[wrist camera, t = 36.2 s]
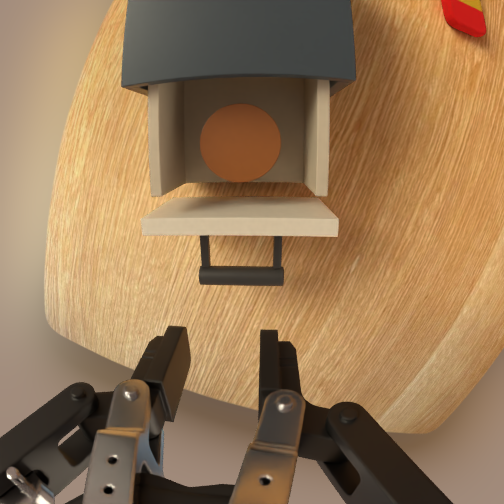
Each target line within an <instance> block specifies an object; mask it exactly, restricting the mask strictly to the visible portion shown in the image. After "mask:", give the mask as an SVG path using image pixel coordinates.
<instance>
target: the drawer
mask: <svg viewBox="0 0 504 504" xmlns="http://www.w3.org/2000/svg"><path fill="white" fill-rule="evenodd" d="M237 103H245V104H251V105H254V106H257V107H259V108H261V109H263V110H264V111H266V112H267V113H268V114H269V115H270V116H271V117H272V118H273V119H274V121H275V122H276V124H277V126H278V128H279V131H280V135H281V150H280V154H279V157H278V159H277V161H276V163H275V164H274V166H273V167H272V168H271V169H270V170H269V171H268V172H267V173H266V174H265V175H263V176H262V177H260V178H258V179H256V180H253V181H249V182H290V183H304V184H305V185H306V186H307V187H308V188H309V189H310V190H311V191H312V192H313V193H314V194H315V195H316V196H328V177H329V142H330V87H329V80H320V79H306V78H285V77H234V78H213V79H199V80H188V81H178V82H170V83H162V84H154V85H148V143H149V168H150V186H151V197H161V196H163V195H165V194H167V193H168V192H170V191H172V190H174V189H176V188H177V187H179V186H181V185H183V184H185V183H207V182H231V181H228V180H225V179H223V178H220V177H219V176H217V175H216V174H215V173H213V172H212V171H211V170H210V169H209V168H208V166H207V165H206V163H205V162H204V160H203V157H202V155H201V151H200V136H201V132H202V129H203V127H204V125H205V123H206V121H207V120H208V119H209V117H210V116H211V115H212V114H213V113H215V112H216V111H217V110H219V109H221V108H223V107H225V106H228V105H231V104H237ZM141 226H142V235H143V236H144V235H200V245H201V261H202V266H200V269H199V282H200V284H201V285H244V286H283V283H284V268H283V267H281V257H282V236H319V237H338V228H339V219H338V218H337V217H336V216H335V215H334V214H333V212H332V211H331V210H330V209H329V208H328V207H327V206H326V205H325V204H324V203H323V202H322V201H321V200H320V199H319V198H318V197H275V196H212V197H173V198H172V199H170V200H168V201H167V202H165V203H164V204H162V205H161V206H159V207H158V208H156V209H155V210H153V211H152V212H150V213H149V214H147V215H146V216H144V217H143V218H141ZM209 235H233V236H274V250H273V267H258V266H210V265H211V264H210V245H209Z"/></svg>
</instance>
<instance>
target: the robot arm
mask: <svg viewBox="0 0 504 504" xmlns="http://www.w3.org/2000/svg"><path fill="white" fill-rule="evenodd" d="M190 362H191V355H190V348H189V341H188V334H187V329H186V327H182V326H168V328H167V330H166V332H165V334H164V336H156V337H155V338H154V339H153V340H151V341H150V342H149V344H148V346H147V348H146V350H145V352H144V353H143V355H142V358H141V359H140V361H139V363H138V365H137V367H136V369H135V371H134V373H133V375H132V377H131V379H130V380H126V381H123V382H121V383H120V384H119V385H118V386H117V387H116V388H115V390H114V391H113V392H98V393H95V391H94V388H93V387H92V386H91V385H90V384H87V383H84V382H79V383H75V384H72V385H70V386H69V387H67V388H66V389H64V390H63V391H62V392H60V393H59V394H58V395H57V396H55V397H54V398H53V399H51V400H50V401H48V402H47V403H46V404H44V405H43V406H42V407H41V408H39V409H38V410H37V411H35V412H34V413H32V414H31V415H30V416H29V417H27V418H26V419H25V420H23V421H22V422H21V423H19V424H18V425H17V426H15V427H14V428H13V429H11V430H10V431H9V432H7V433H6V434H5V435H3V436H2V437H1V438H0V504H55V496H56V495H57V494H58V493H60V492H61V491H62V490H63V489H64V488H65V487H66V486H67V485H69V484H70V483H71V482H72V481H73V480H74V479H75V478H76V477H77V476H79V475H80V474H81V473H82V472H83V471H84V470H85V469H86V468H87V467H88V466H89V468H88V473H87V478H86V484H85V489H84V494H82V495H80V496H78V497H76V498H75V499H73V500H71V501H69V502H67V503H65V504H288V502H289V497H290V492H291V487H292V482H293V477H294V473H295V467H296V462H297V457H298V456H299V457H303V458H308V459H312V460H316V461H317V463H318V464H319V466H320V467H321V469H322V470H323V471H324V473H325V475H326V476H327V477H328V479H329V480H330V482H331V483H332V485H333V486H334V487H335V489H336V490H337V492H338V493H339V494H340V496H341V497H342V499H343V500H344V501H345V503H346V504H453V503H452V502H451V501H450V500H449V499H448V498H447V497H446V496H445V494H444V493H443V492H442V491H441V490H440V489H439V488H438V487H437V486H436V485H435V484H434V483H433V482H432V481H431V480H430V479H429V478H428V477H427V476H426V475H425V474H424V472H423V471H422V470H421V469H419V467H418V466H417V465H416V464H415V463H414V462H413V461H412V460H411V459H410V458H409V457H408V456H407V454H406V453H405V452H404V451H403V450H402V449H401V448H400V447H399V446H398V445H397V444H396V443H395V442H394V441H393V439H392V438H391V437H390V436H389V435H388V434H387V433H386V432H385V431H384V430H383V429H382V427H381V426H380V425H379V424H378V423H377V422H376V421H375V420H374V419H373V418H372V417H371V415H370V414H369V413H368V412H367V411H366V410H365V409H364V408H363V407H362V406H360V405H359V404H357V403H353V402H340V403H337V404H335V405H334V406H332V407H331V408H330V409H328V408H322V407H318V406H315V405H312V404H310V403H309V402H308V401H306V400H305V399H304V397H303V396H302V393H301V387H300V378H299V370H298V363H297V355H296V349H295V347H294V346H293V345H292V344H291V342H290V341H278V330H261V332H260V371H259V416H258V420H259V421H258V427H257V430H256V433H255V437H254V440H253V442H252V443H250V444H249V446H248V448H247V451H246V454H245V458H244V460H243V463H242V466H241V469H240V472H239V475H238V478H237V481H236V484H235V485H228V484H219V485H209V486H199V487H187V486H184V485H181V484H178V483H176V482H173V481H171V480H168V479H166V478H164V474H163V446H164V431H163V426H164V422H165V421H170V422H174V418H175V415H176V411H177V408H178V405H179V401H180V397H181V395H182V391H183V388H184V385H185V381H186V378H187V375H188V371H189V368H190ZM77 425H78V426H79V428H80V429H79V430H77V431H76V432H75V433H74V434H73V435H71V436H70V437H69V438H68V439H67V440H65V441H64V442H63V443H62V444H61V445H59V446H58V443H59V441H60V440H61V439H62V438H63V437H64V436H66V435H67V434H68V433H69V432H70V431H71V430H72V429H74V428H75V427H76V426H77Z"/></svg>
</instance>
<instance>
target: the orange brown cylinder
mask: <svg viewBox="0 0 504 504" xmlns="http://www.w3.org/2000/svg"><path fill="white" fill-rule="evenodd" d="M280 150H281V135H280V131H279V128H278V126H277V124H276V122H275V121H274V119H273V118H272V117H271V116H270V115H269V114H268V113H267V112H266V111H264V110H263V109H261V108H259V107H257V106H254V105H251V104H245V103H237V104H231V105H228V106H225V107H223V108H221V109H219V110H217V111H216V112H215V113H213V114H212V115H211V116H210V117H209V119H208V120H207V121H206V123H205V125H204V127H203V129H202V132H201V136H200V151H201V155H202V157H203V160H204V162H205V163H206V165H207V166H208V168H209V169H210V170H211V171H212V172H213V173H215V174H216V175H217V176H219V177H220V178H223V179H225V180H228V181H231V182H249V181H253V180H256V179H258V178H260V177H262V176H263V175H265V174H266V173H267V172H268V171H269V170H270V169H271V168H272V167H273V166H274V164H275V163H276V161H277V159H278V157H279V154H280Z"/></svg>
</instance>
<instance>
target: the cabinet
mask: <svg viewBox="0 0 504 504" xmlns="http://www.w3.org/2000/svg"><path fill="white" fill-rule="evenodd" d="M234 77H285V78H306V79H320V80H329V87H330V97H331V96H332V95H334V94H335V93H337V92H338V91H340V90H342V89H343V88H345V87H346V86H348V85H349V84H351V83H352V82H354V81H356V64H355V46H354V32H353V20H352V10H351V1H350V0H128V6H127V14H126V23H125V33H124V45H123V60H122V81H121V87H123V88H126V89H129V90H132V91H135V92H138V93H141V94H144V95H146V96H148V85H154V84H162V83H170V82H178V81H188V80H199V79H213V78H234Z"/></svg>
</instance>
